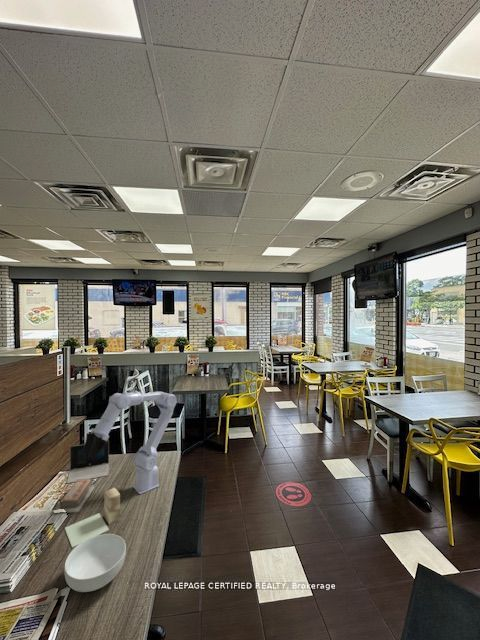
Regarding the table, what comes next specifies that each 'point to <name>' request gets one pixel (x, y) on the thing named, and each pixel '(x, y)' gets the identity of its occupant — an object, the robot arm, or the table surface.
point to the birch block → (112, 505)
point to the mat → (86, 529)
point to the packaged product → (76, 496)
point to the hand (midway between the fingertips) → (87, 455)
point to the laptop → (88, 464)
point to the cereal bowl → (94, 562)
